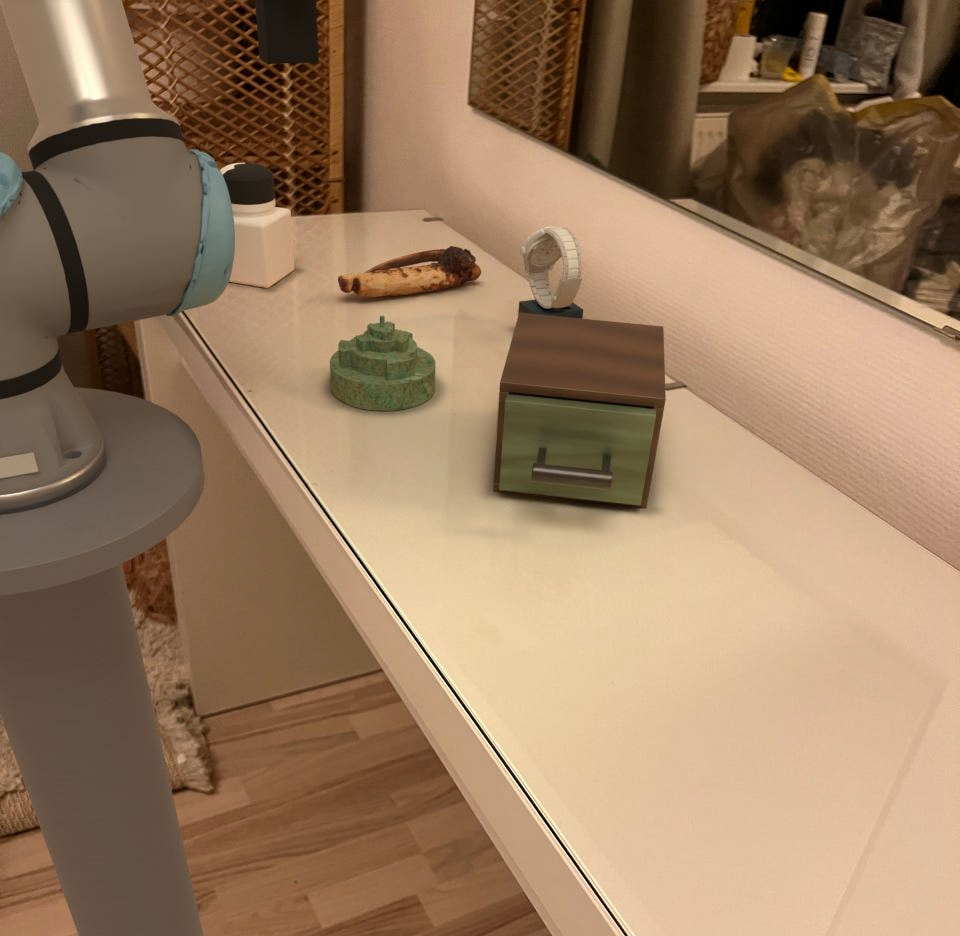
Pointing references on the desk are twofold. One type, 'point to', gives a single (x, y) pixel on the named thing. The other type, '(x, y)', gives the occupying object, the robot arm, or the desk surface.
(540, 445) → the drawer
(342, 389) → the decorative artifact
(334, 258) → the desk surface
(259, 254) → the medicine bottle
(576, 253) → the watch
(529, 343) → the cabinet
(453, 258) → the lashed bone hook
